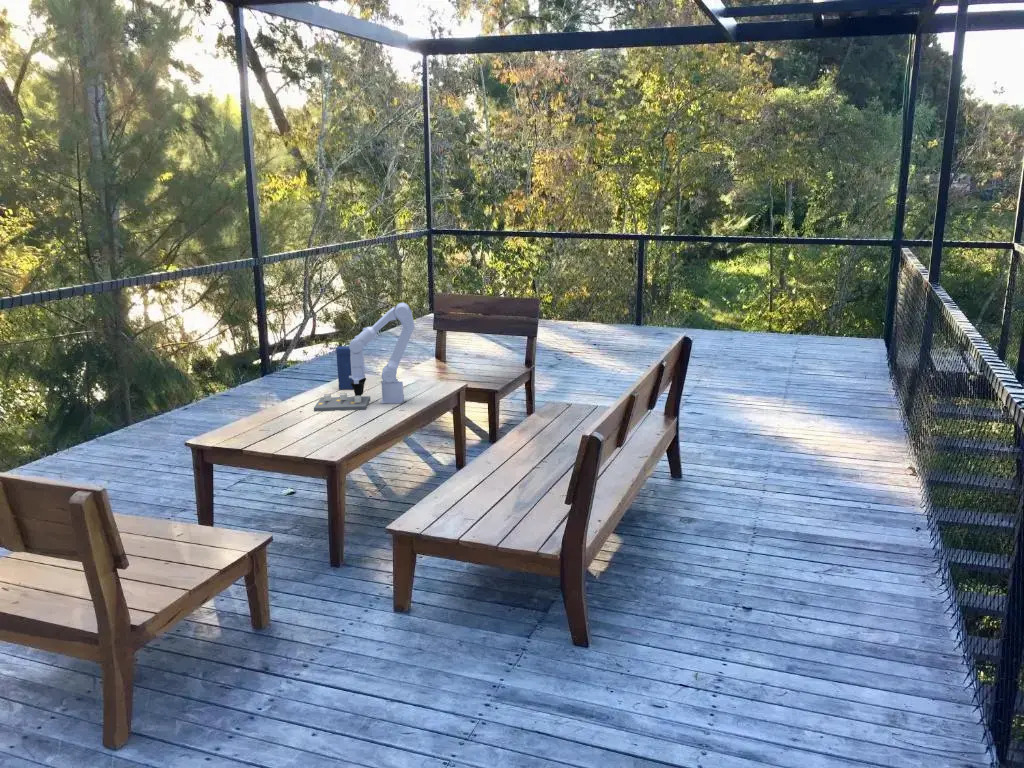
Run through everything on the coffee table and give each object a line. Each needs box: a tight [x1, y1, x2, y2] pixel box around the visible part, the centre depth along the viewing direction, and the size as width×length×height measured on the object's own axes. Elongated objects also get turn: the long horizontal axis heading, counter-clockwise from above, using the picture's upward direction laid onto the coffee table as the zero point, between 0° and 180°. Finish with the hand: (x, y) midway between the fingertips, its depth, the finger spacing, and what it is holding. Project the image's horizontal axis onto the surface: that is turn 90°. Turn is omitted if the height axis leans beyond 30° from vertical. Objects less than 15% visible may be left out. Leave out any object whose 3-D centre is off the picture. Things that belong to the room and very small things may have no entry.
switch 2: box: [339, 392, 348, 400], centre depth 390 cm, size 2×3×3 cm
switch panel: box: [313, 395, 372, 412], centre depth 388 cm, size 22×18×2 cm
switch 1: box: [323, 393, 332, 401], centre depth 390 cm, size 2×3×3 cm
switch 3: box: [353, 395, 362, 403], centre depth 385 cm, size 2×3×3 cm
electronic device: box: [335, 345, 354, 390], centre depth 417 cm, size 10×5×20 cm, turn 84°
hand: (359, 396), depth 391 cm, fingers open, 6 cm apart
